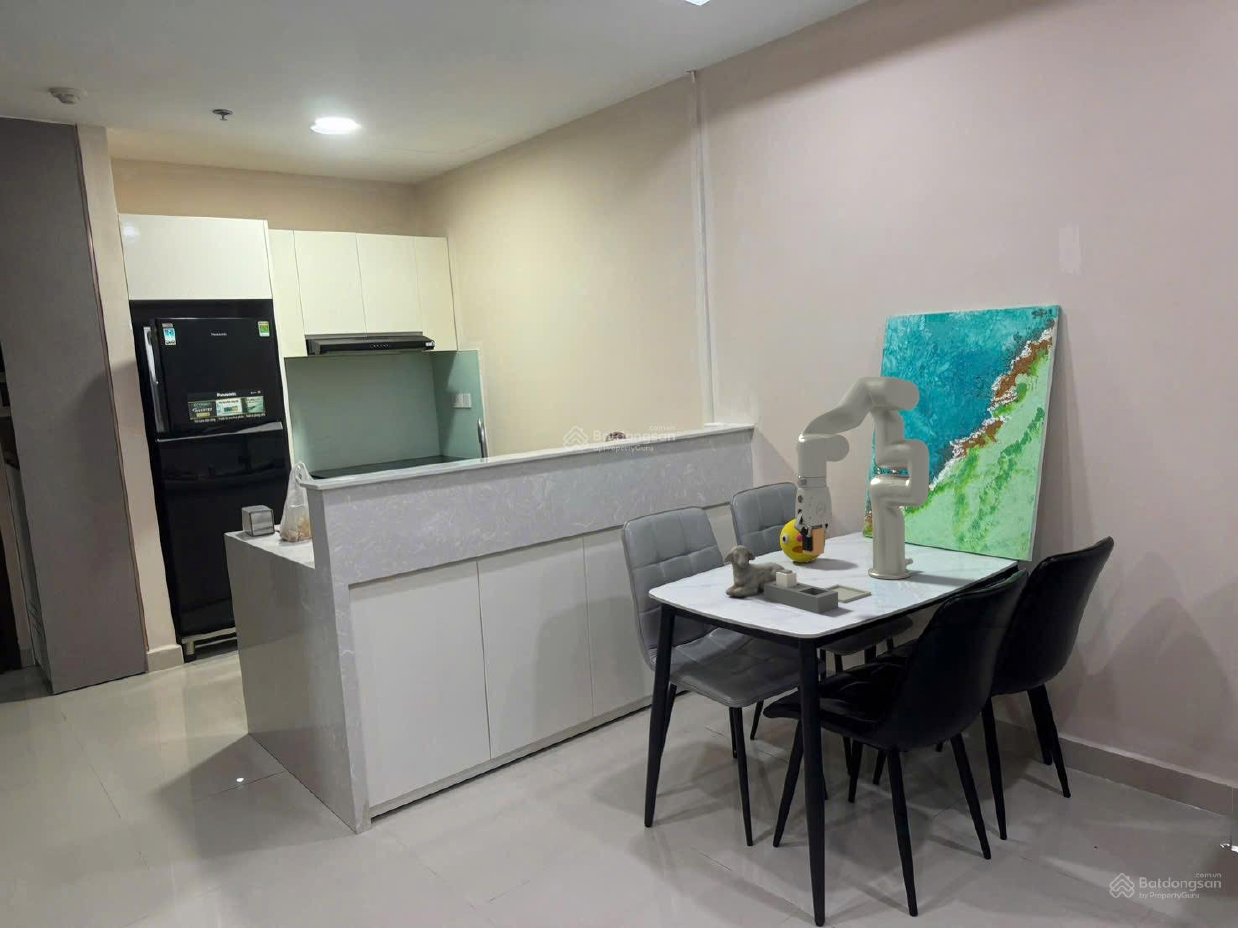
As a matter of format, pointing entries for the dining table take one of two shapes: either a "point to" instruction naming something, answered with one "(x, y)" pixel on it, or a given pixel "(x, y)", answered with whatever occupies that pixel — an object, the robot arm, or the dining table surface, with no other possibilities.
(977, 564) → the dining table surface
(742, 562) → the sculpture
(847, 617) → the dining table surface
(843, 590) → the tray
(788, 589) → the pdu
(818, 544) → the plug
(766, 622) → the dining table surface
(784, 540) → the toy
